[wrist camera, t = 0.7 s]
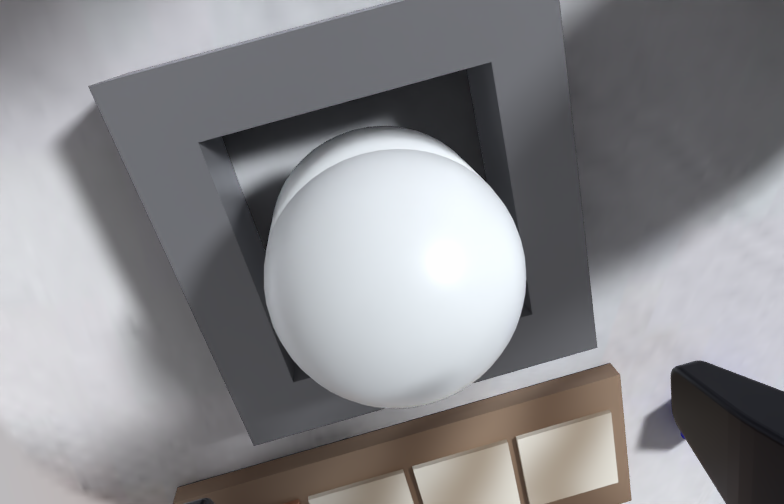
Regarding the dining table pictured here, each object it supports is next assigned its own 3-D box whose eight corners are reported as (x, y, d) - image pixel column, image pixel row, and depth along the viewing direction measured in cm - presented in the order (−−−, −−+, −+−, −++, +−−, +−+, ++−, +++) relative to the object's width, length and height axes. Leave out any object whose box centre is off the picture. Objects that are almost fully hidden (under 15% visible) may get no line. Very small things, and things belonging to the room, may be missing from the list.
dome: (462, 96, 16) (550, 147, 10) (499, 291, 18) (586, 422, 13) (240, 157, 16) (198, 246, 10) (309, 345, 18) (308, 502, 12)
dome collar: (515, -33, 17) (554, -41, 14) (561, 305, 22) (597, 347, 19) (125, 73, 17) (88, 86, 14) (261, 390, 21) (254, 445, 19)
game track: (610, 363, 23) (622, 377, 22) (622, 486, 26) (633, 503, 25) (177, 487, 23) (172, 507, 22) (239, 598, 26) (236, 620, 25)
